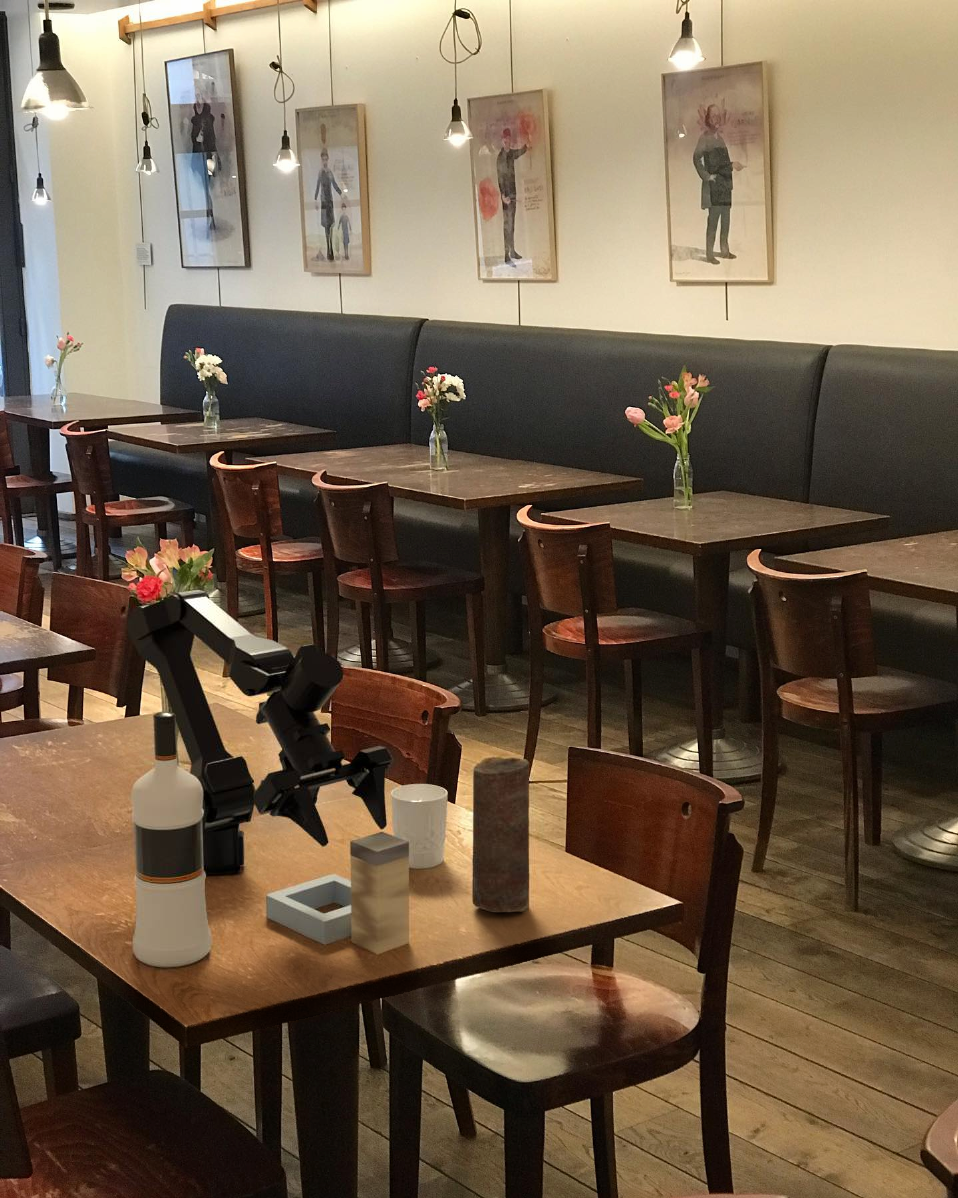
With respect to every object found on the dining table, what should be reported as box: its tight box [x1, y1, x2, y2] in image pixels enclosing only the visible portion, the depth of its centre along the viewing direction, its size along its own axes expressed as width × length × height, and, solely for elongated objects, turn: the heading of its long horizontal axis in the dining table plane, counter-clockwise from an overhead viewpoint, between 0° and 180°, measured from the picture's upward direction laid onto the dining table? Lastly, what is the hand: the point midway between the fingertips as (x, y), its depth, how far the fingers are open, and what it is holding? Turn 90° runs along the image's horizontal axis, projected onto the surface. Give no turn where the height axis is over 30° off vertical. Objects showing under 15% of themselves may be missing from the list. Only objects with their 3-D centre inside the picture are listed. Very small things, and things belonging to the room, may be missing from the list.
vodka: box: [130, 711, 212, 969], centre depth 189 cm, size 9×9×30 cm
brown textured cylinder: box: [471, 756, 530, 913], centre depth 205 cm, size 8×7×20 cm
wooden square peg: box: [349, 831, 410, 955], centre depth 195 cm, size 5×5×13 cm
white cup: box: [390, 783, 448, 870], centre depth 223 cm, size 8×8×10 cm
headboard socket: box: [265, 873, 351, 946], centre depth 203 cm, size 12×11×3 cm
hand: (355, 836), depth 197 cm, fingers open, 9 cm apart
